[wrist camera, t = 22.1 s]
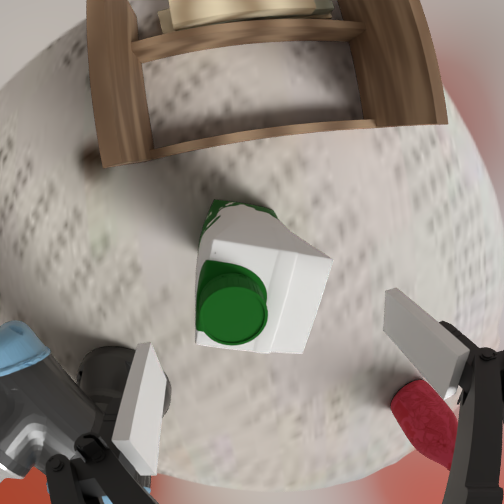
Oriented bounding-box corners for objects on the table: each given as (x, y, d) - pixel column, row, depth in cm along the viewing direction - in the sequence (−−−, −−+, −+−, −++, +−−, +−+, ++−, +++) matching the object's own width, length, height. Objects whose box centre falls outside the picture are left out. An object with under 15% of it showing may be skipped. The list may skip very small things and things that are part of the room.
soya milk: (207, 190, 34) (204, 236, 15) (283, 204, 36) (361, 263, 17) (195, 261, 37) (184, 370, 18) (267, 272, 38) (317, 379, 20)
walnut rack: (144, 161, 32) (103, 168, 19) (124, 20, 26) (88, -35, 13) (374, 128, 34) (448, 124, 21) (347, -1, 28) (400, -47, 15)
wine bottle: (388, 390, 50) (465, 505, 21) (429, 369, 50) (512, 469, 22) (387, 417, 53) (449, 521, 25) (424, 398, 53) (492, 490, 25)
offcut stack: (168, 52, 28) (160, 34, 23) (159, 16, 27) (151, -5, 21) (327, 24, 29) (345, 7, 24) (314, -9, 27) (330, -29, 22)
